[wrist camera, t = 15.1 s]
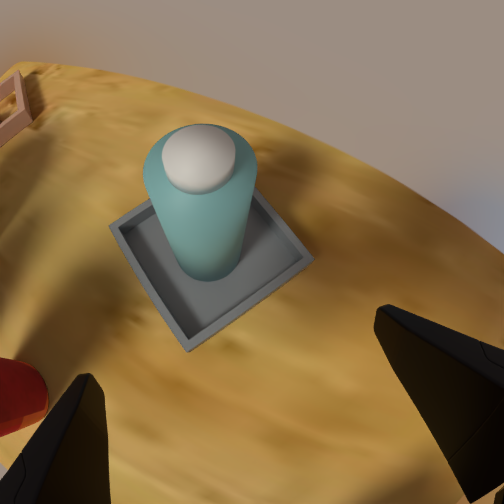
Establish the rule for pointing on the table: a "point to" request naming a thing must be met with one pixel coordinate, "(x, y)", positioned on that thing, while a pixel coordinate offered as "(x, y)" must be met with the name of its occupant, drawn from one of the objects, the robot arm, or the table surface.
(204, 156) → the pepper mill
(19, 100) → the pastry plate
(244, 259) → the tray
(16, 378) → the paper cup
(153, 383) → the table surface
